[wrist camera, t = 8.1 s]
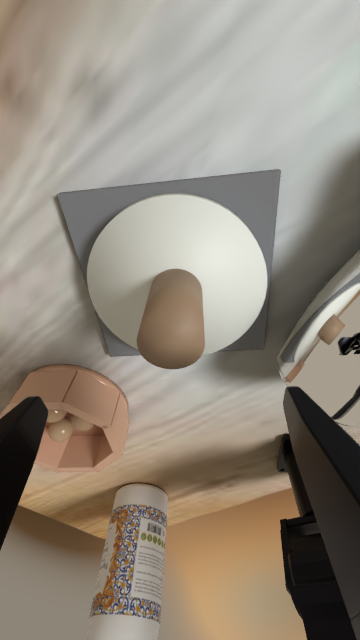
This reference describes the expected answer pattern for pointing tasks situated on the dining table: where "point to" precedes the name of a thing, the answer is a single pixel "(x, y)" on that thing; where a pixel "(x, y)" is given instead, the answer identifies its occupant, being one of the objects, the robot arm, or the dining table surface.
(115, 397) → the bowl
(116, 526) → the bath foam
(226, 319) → the lid
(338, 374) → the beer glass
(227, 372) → the dining table surface
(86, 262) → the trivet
